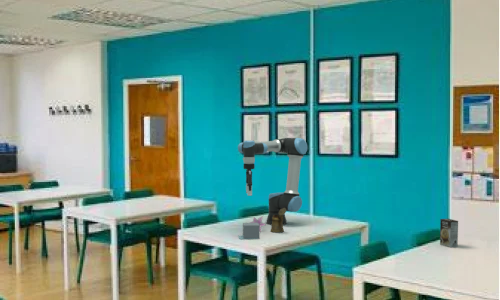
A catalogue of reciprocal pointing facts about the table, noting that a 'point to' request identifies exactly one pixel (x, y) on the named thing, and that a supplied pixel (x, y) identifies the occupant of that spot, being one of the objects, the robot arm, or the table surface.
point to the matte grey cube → (251, 231)
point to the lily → (258, 221)
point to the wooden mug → (278, 221)
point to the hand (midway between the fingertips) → (249, 194)
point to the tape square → (241, 237)
